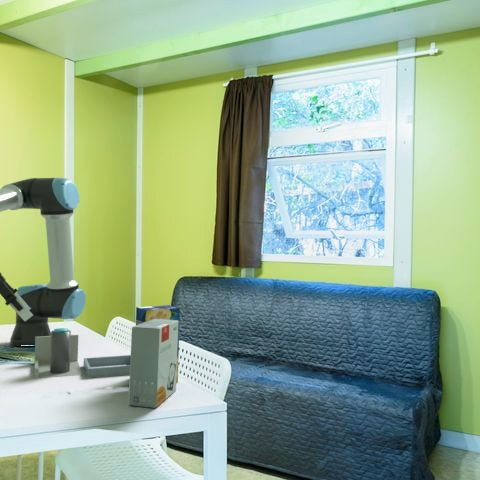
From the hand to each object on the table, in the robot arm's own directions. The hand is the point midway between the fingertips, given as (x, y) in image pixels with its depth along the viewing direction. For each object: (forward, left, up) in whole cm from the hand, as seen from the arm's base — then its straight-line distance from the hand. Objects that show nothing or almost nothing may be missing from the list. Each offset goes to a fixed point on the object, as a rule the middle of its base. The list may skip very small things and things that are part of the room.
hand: (28, 314), depth 142 cm
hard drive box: (+30, +31, -19) cm, 47 cm away
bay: (-2, +9, -19) cm, 21 cm away
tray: (+4, +24, -19) cm, 31 cm away
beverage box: (+16, +35, -19) cm, 43 cm away
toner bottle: (+1, +9, -17) cm, 20 cm away
